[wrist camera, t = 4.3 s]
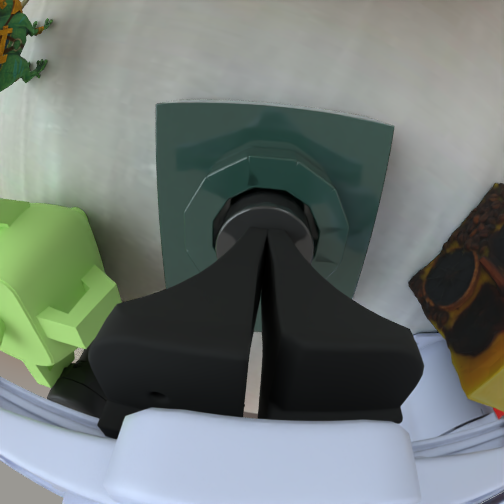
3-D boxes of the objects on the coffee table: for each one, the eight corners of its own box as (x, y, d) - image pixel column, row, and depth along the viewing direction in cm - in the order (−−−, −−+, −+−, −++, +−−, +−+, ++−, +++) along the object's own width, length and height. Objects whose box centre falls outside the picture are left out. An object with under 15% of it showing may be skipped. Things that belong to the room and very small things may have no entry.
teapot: (156, 252, 19) (89, 369, 11) (94, 329, 24) (47, 416, 15) (35, 144, 15) (-75, 201, 7) (2, 247, 20) (-64, 313, 12)
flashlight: (77, 356, 25) (54, 432, 16) (68, 313, 23) (33, 391, 14) (225, 369, 28) (241, 449, 20) (233, 327, 26) (253, 412, 18)
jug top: (302, 271, 13) (305, 296, 12) (221, 264, 13) (214, 288, 12) (315, 194, 11) (322, 212, 10) (223, 186, 12) (215, 202, 10)
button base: (331, 298, 20) (343, 360, 15) (185, 285, 20) (162, 344, 16) (369, 117, 14) (412, 132, 9) (180, 99, 14) (137, 106, 9)
